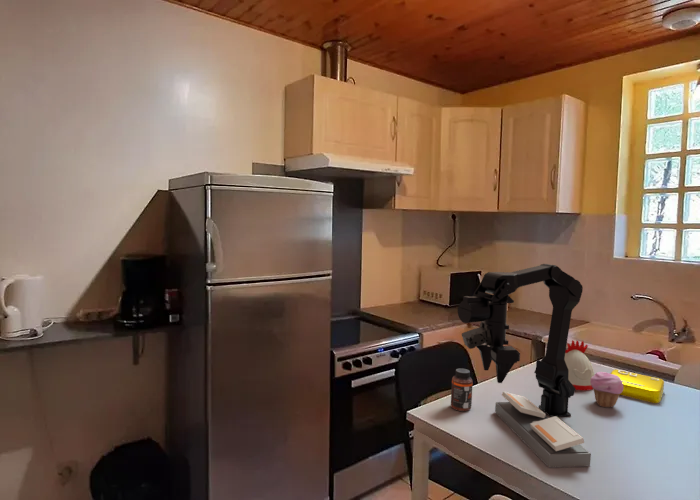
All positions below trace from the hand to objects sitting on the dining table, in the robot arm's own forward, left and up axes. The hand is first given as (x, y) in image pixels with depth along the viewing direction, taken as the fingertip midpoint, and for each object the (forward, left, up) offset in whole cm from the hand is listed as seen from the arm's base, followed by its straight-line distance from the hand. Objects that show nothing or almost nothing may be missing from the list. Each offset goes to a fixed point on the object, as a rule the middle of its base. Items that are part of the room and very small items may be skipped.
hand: (492, 376), depth 119 cm
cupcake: (-42, -11, -14) cm, 45 cm away
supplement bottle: (+4, -11, -14) cm, 18 cm away
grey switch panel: (-10, +7, -14) cm, 18 cm away
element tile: (-60, -21, -14) cm, 65 cm away
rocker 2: (-10, +15, -9) cm, 20 cm away
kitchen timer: (-43, -29, -14) cm, 53 cm away
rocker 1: (-10, -1, -9) cm, 13 cm away
